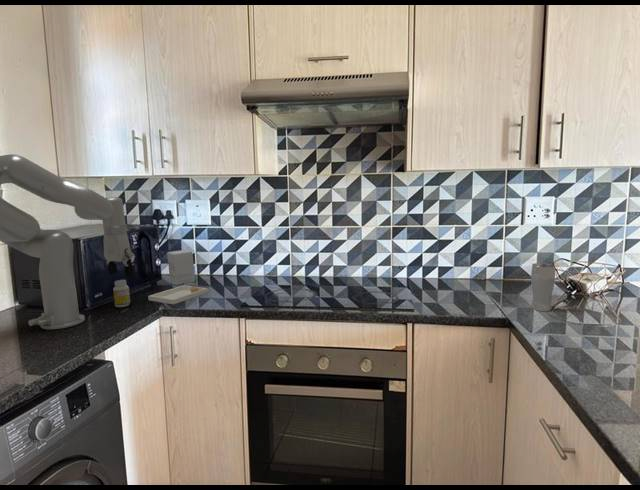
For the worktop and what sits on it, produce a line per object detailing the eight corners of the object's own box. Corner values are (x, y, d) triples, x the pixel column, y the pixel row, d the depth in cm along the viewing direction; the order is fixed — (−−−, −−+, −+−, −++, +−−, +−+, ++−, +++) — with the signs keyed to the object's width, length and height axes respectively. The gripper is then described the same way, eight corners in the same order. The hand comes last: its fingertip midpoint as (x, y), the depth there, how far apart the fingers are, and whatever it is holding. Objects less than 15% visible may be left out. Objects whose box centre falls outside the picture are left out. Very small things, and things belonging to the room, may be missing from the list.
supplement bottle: (129, 306, 151) (126, 281, 150) (113, 308, 149) (110, 283, 148) (131, 302, 156) (128, 278, 155) (116, 304, 155) (113, 280, 153)
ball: (194, 295, 161) (194, 287, 160) (189, 294, 162) (188, 286, 162) (200, 293, 164) (199, 285, 163) (194, 292, 165) (194, 285, 165)
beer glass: (534, 311, 131) (536, 267, 129) (526, 305, 138) (528, 263, 135) (556, 312, 130) (559, 267, 128) (547, 305, 137) (550, 263, 134)
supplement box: (188, 279, 192) (185, 249, 190) (195, 282, 185) (193, 251, 183) (169, 283, 187) (166, 251, 184) (176, 286, 180) (173, 254, 177)
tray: (173, 306, 149) (173, 299, 149) (148, 302, 156) (148, 295, 156) (208, 294, 165) (207, 288, 164) (184, 290, 172) (183, 285, 171)
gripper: (91, 231, 150) (98, 275, 153) (120, 232, 141) (127, 279, 144) (110, 228, 156) (116, 270, 159) (139, 229, 148) (144, 274, 151)
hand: (121, 274), depth 152 cm, fingers open, 9 cm apart
